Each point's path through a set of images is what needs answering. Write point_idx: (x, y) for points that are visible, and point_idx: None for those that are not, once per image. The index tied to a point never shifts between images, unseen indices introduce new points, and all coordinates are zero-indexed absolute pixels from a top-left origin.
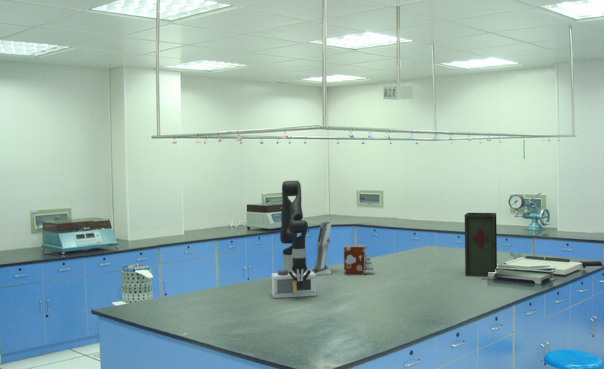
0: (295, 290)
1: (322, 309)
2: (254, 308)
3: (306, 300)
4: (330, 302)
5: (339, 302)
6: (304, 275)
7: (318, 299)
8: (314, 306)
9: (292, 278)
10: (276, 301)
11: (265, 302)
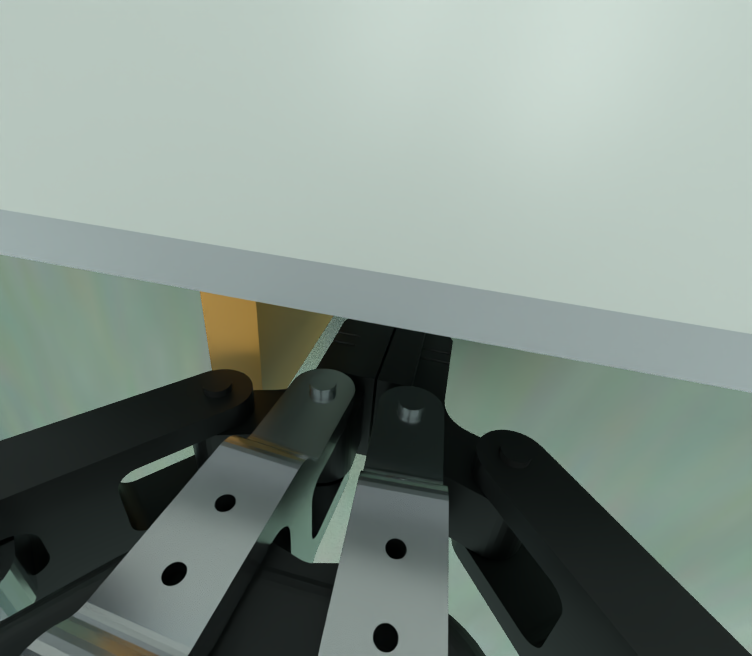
0: (323, 323)
1: (470, 628)
2: (16, 420)
3: (463, 378)
4: (660, 539)
5: (746, 575)
6: (676, 308)
7: (623, 395)
8: (448, 561)
9: (159, 267)
10: (144, 287)
11: (45, 282)
